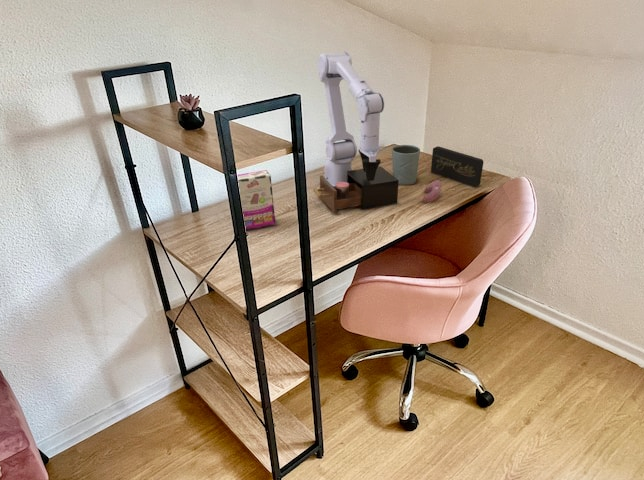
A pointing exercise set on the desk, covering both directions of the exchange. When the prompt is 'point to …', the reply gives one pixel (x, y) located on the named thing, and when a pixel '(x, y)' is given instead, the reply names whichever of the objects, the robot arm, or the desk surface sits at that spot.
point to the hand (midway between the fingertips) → (368, 175)
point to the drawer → (330, 195)
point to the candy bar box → (257, 199)
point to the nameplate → (457, 166)
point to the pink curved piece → (432, 191)
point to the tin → (342, 190)
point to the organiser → (375, 187)
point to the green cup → (405, 163)
